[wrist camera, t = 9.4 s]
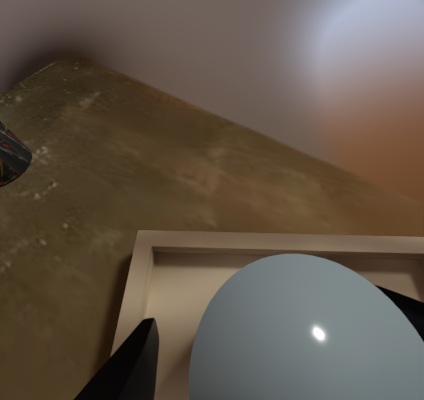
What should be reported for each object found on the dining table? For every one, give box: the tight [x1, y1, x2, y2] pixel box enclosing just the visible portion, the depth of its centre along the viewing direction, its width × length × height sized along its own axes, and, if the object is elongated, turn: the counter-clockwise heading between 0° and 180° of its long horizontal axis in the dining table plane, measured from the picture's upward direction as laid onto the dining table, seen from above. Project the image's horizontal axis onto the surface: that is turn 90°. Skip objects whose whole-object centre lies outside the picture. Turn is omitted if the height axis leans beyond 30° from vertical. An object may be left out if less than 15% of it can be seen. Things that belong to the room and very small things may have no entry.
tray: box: [110, 230, 424, 400], centre depth 13 cm, size 16×22×2 cm
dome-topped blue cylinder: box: [189, 254, 424, 400], centre depth 9 cm, size 5×5×11 cm
